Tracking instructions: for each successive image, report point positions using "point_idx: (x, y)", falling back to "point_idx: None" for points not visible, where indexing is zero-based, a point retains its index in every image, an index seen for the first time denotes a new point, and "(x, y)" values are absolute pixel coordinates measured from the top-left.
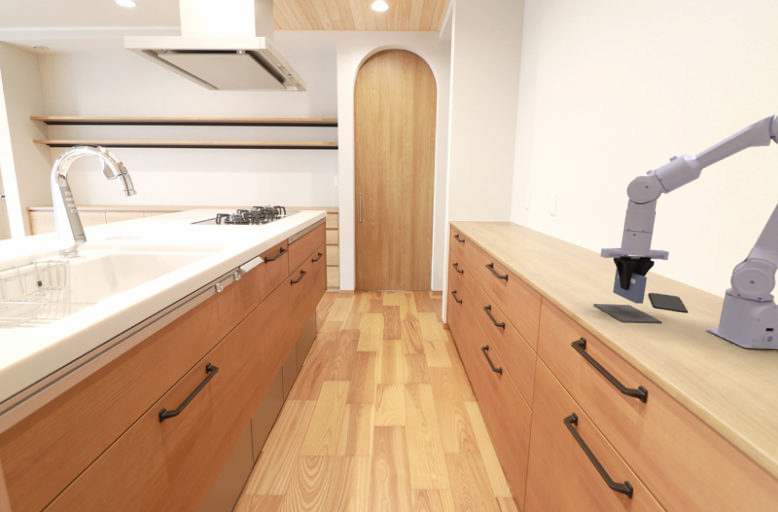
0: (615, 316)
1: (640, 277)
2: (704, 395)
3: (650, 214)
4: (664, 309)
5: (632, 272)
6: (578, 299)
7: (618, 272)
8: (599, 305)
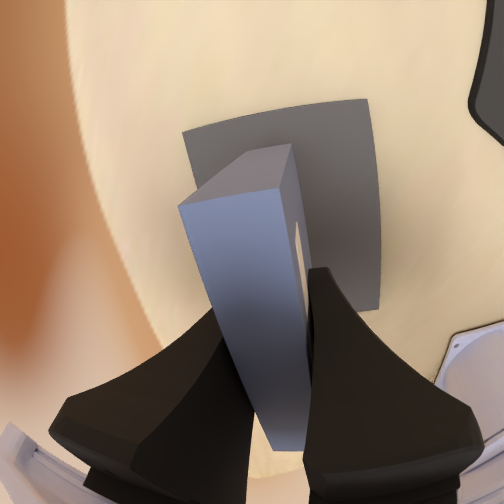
0: None
1: (277, 449)
2: (250, 462)
3: None
4: (492, 135)
5: (251, 437)
6: (144, 54)
7: (179, 342)
8: (203, 150)
